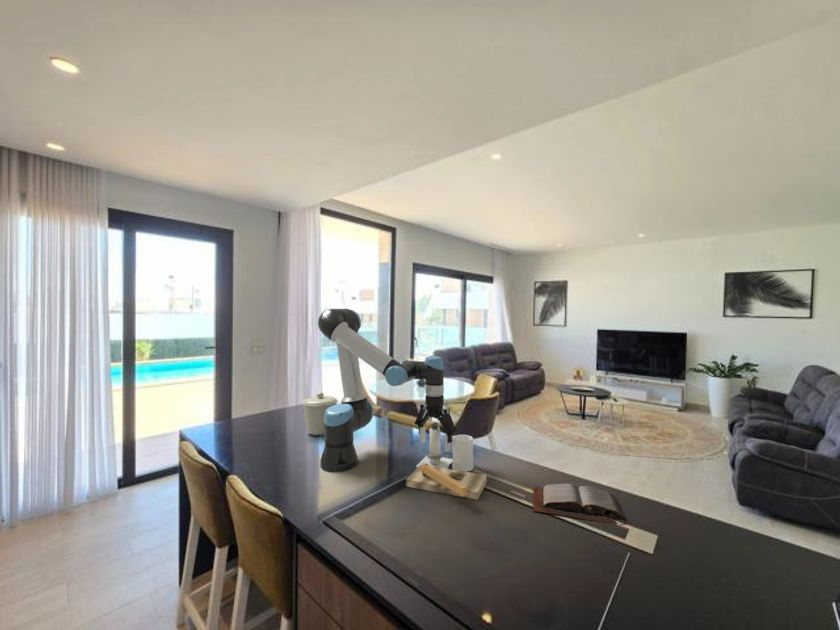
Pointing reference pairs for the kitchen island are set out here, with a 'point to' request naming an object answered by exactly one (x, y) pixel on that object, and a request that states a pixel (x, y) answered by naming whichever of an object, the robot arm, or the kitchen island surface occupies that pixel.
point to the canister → (317, 412)
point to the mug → (462, 453)
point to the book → (578, 502)
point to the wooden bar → (444, 479)
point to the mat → (443, 464)
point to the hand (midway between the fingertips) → (435, 446)
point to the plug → (434, 445)
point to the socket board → (469, 479)
